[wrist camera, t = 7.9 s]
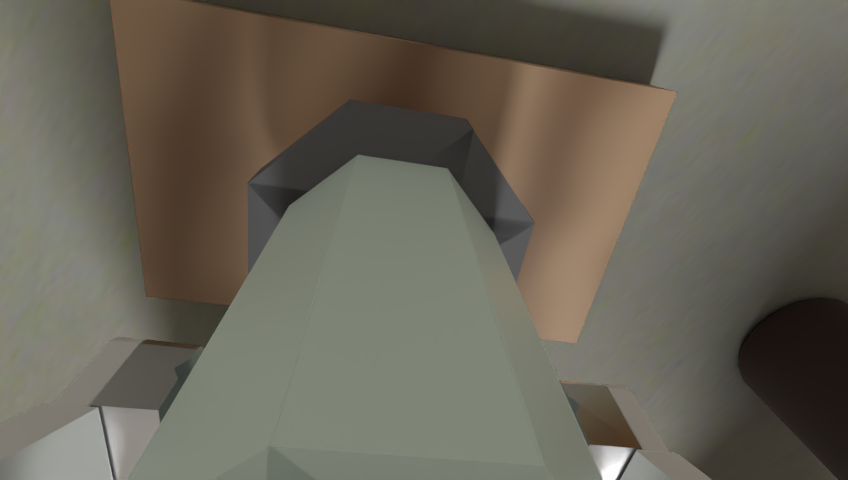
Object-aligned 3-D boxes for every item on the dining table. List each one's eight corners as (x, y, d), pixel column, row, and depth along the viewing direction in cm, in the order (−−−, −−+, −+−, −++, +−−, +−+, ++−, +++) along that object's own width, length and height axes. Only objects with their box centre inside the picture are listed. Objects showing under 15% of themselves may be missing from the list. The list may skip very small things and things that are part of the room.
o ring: (544, 131, 14) (559, 142, 13) (482, 345, 18) (489, 372, 16) (262, 84, 13) (246, 91, 12) (260, 322, 17) (248, 349, 15)
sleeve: (508, 177, 13) (716, 477, 4) (464, 343, 16) (541, 728, 7) (291, 144, 12) (45, 429, 4) (284, 324, 15) (132, 730, 6)
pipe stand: (650, 84, 18) (1522, 313, 4) (562, 318, 24) (813, 777, 9) (140, -10, 16) (-2014, -247, 2) (167, 273, 21) (-313, 798, 7)
